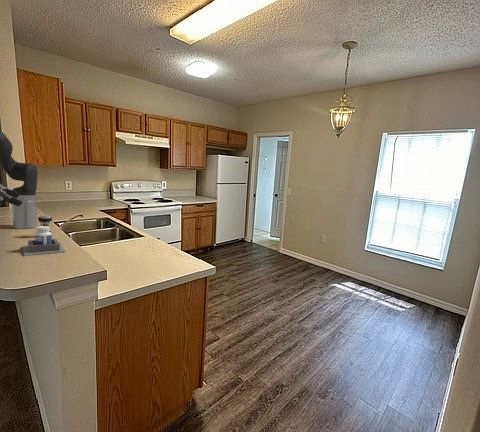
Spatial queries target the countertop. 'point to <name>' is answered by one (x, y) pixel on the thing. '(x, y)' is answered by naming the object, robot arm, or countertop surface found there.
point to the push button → (45, 220)
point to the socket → (42, 248)
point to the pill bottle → (43, 236)
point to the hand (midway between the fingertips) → (19, 200)
